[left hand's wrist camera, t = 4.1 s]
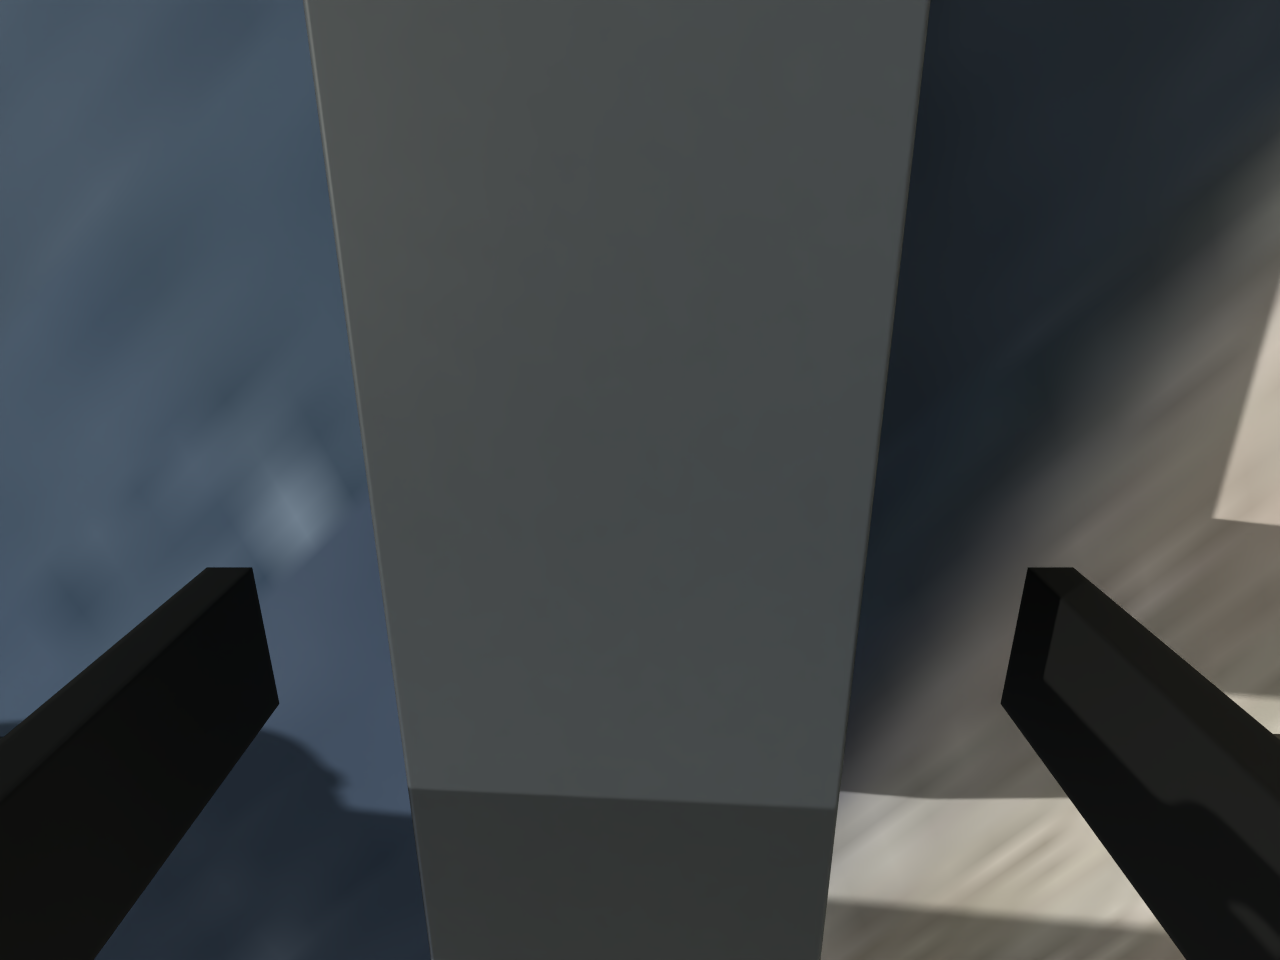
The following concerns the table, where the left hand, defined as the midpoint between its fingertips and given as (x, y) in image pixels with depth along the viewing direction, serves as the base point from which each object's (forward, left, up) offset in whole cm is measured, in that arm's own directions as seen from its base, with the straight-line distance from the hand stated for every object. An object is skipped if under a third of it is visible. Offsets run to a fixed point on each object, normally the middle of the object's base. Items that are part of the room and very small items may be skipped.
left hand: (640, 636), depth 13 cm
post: (+23, +26, -3) cm, 35 cm away
